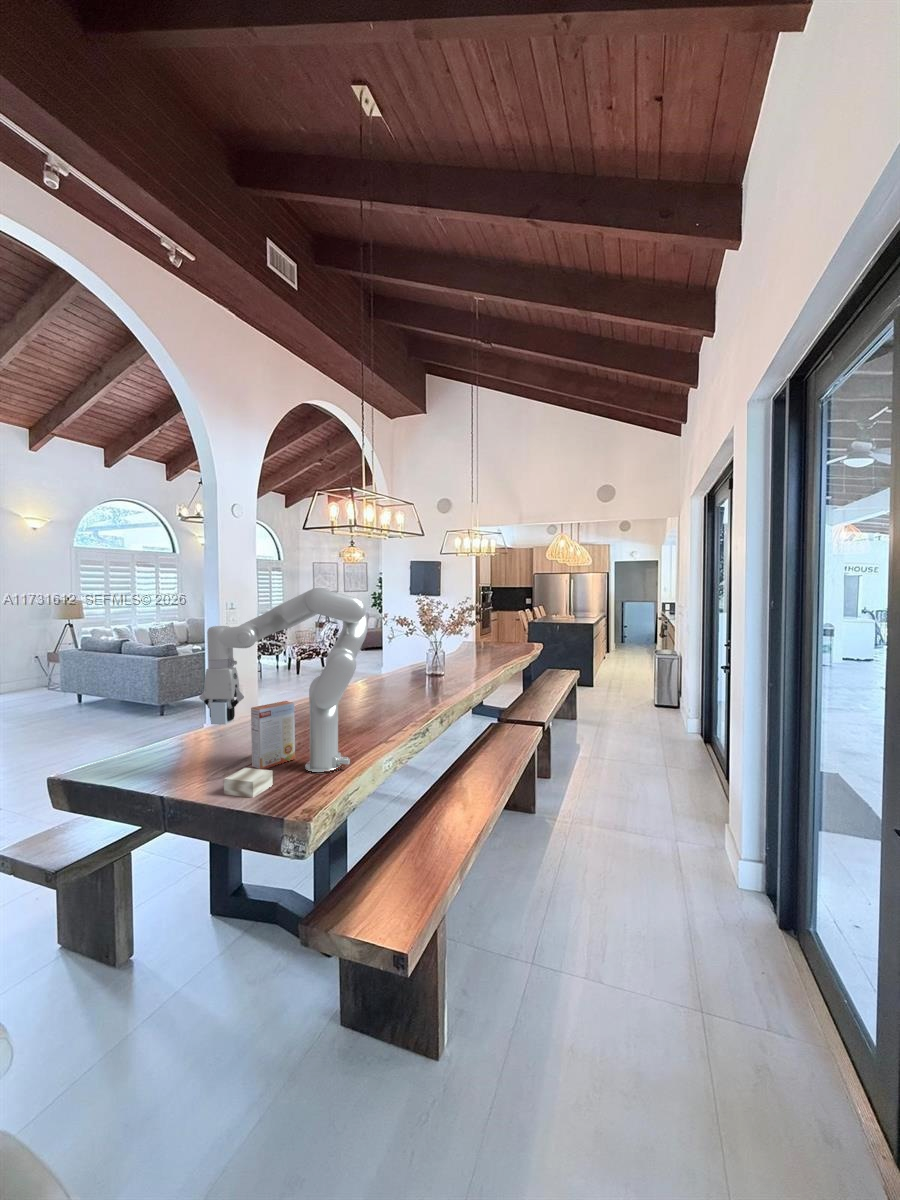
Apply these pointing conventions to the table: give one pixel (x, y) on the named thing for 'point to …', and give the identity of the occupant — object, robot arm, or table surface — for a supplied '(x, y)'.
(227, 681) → the robot arm
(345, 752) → the table surface
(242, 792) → the ash base block
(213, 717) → the blue-grey block
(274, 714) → the cracker box
